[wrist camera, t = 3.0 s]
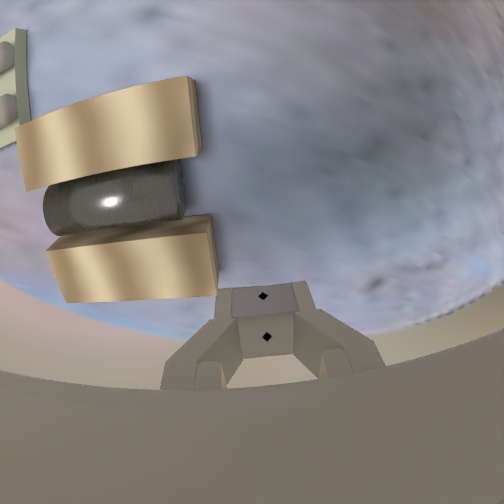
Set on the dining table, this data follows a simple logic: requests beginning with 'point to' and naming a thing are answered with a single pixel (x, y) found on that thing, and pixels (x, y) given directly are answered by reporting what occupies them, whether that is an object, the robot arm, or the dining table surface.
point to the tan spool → (112, 158)
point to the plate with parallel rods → (13, 85)
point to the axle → (116, 199)
